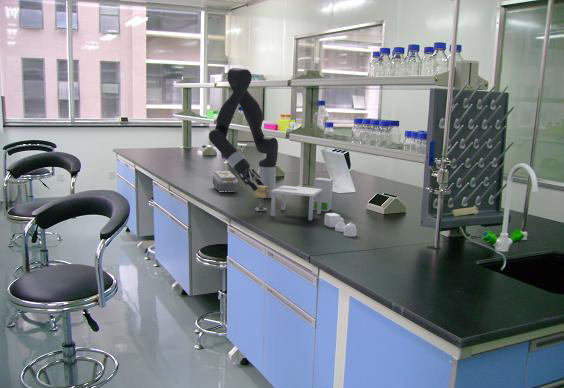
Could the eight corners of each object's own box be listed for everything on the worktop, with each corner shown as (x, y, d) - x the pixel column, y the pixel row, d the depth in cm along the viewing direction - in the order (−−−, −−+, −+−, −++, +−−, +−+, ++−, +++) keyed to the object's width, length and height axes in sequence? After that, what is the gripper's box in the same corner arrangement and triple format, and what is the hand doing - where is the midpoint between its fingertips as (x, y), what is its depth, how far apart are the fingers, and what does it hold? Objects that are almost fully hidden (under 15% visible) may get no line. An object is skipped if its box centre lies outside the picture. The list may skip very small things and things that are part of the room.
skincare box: (312, 210, 250) (313, 179, 248) (315, 207, 257) (317, 177, 254) (328, 211, 248) (330, 180, 245) (331, 209, 254) (333, 178, 251)
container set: (324, 225, 221) (324, 213, 220) (334, 224, 223) (335, 212, 222) (347, 237, 203) (348, 224, 202) (359, 236, 205) (359, 223, 204)
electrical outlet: (228, 184, 312) (229, 168, 309) (240, 196, 286) (241, 179, 283) (210, 185, 308) (210, 169, 306) (220, 197, 282) (220, 179, 280)
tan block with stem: (257, 209, 249) (258, 184, 246) (268, 210, 247) (269, 186, 244) (252, 211, 243) (253, 186, 241) (264, 212, 241) (265, 187, 239)
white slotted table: (282, 209, 250) (282, 185, 248) (321, 213, 243) (322, 189, 241) (270, 215, 235) (271, 190, 233) (311, 220, 228) (313, 194, 226)
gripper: (237, 159, 237) (259, 185, 235) (249, 156, 250) (270, 181, 248) (226, 169, 239) (248, 195, 238) (239, 166, 253) (260, 191, 251)
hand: (259, 188), depth 243 cm, fingers open, 8 cm apart
